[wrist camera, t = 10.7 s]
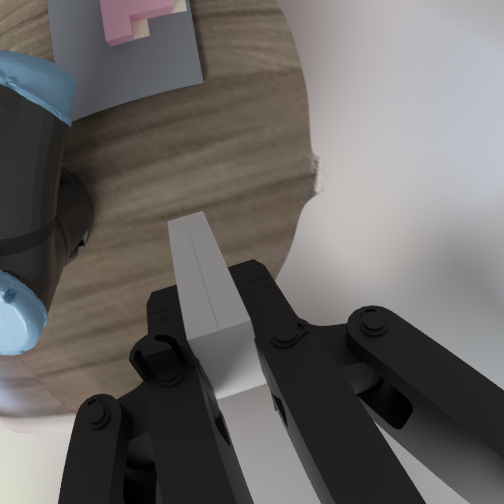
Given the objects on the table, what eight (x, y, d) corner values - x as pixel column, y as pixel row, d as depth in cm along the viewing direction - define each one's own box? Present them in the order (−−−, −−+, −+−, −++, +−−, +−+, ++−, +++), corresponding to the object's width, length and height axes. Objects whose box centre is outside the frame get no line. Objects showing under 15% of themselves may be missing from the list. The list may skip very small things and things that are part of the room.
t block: (110, 46, 27) (106, 41, 24) (103, -5, 23) (98, -14, 20) (174, 30, 29) (176, 23, 25) (165, -21, 24) (167, -32, 21)
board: (70, 122, 31) (67, 123, 30) (48, -26, 18) (46, -28, 17) (202, 83, 34) (203, 82, 33) (177, -62, 21) (178, -66, 20)
